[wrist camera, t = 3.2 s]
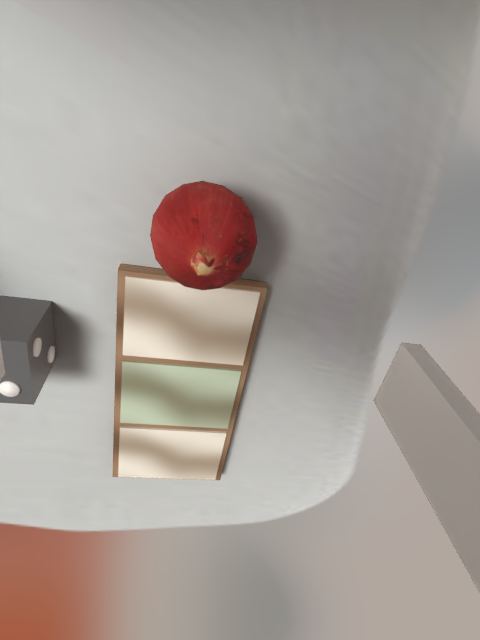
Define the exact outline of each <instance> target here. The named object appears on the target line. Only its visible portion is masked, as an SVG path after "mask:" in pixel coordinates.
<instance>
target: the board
mask: <svg viewBox="0 0 480 640" xmlns="http://www.w3.org/2000/svg"><path fill="white" fill-rule="evenodd" d="M267 290H268V288H267V285H266V282H261V281H253V280H245V279H237V280H236V281H234V282H232V283H230V284H228V285H226V286H224V287H221V288H218V289H210V290H198V289H193V288H189V287H185V286H183V285H181V284H180V283H178V282H177V281H175V280H173V279H172V278H170V277H169V276H168V275H167V273H166V272H165V271H164V269H158V268H150V267H142V266H134V265H126V264H120V266H119V269H118V292H117V330H116V369H115V407H114V445H113V477H136V478H168V479H199V480H220V478H221V474H222V470H223V466H224V462H225V458H226V454H227V450H228V446H229V442H230V438H231V434H232V430H233V426H234V422H235V418H236V414H237V410H238V406H239V402H240V398H241V394H242V390H243V386H244V382H245V378H246V374H247V370H248V366H249V362H250V358H251V354H252V350H253V346H254V342H255V338H256V334H257V330H258V326H259V322H260V318H261V314H262V310H263V306H264V302H265V298H266V294H267Z"/></svg>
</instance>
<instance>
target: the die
mask: <svg viewBox="0 0 480 640" xmlns="http://www.w3.org/2000/svg"><path fill="white" fill-rule="evenodd" d="M0 342H1V349H2V355H3V362H4V368H5V374H4V376H3V377H2V379H1V381H0V402H1V403H17V404H33V405H34V403H35V401H36V399H37V397H38V395H39V393H40V391H41V389H42V387H43V384H44V382H45V380H46V378H47V376H48V374H49V372H50V370H51V368H52V366H53V364H54V362H55V360H56V347H55V333H54V319H53V305H52V301H46V300H37V299H27V298H18V297H9V296H0Z"/></svg>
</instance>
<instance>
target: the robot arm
mask: <svg viewBox="0 0 480 640" xmlns="http://www.w3.org/2000/svg"><path fill="white" fill-rule="evenodd" d="M4 374H5V368H4V362H3V355H2V349H1V342H0V381H1V379H2V377H3V376H4ZM374 402H375V404H376V406H377V408H378V410H379V411H380V413H381V415H382V417H383V419H384V421H385V422H386V424H387V426H388V428H389V430H390V431H391V433H392V435H393V437H394V439H395V440H396V442H397V444H398V446H399V447H400V449H401V451H402V453H403V455H404V457H405V458H406V460H407V462H408V464H409V466H410V468H411V469H412V471H413V473H414V475H415V477H416V479H417V480H418V482H419V484H420V486H421V488H422V489H423V491H424V493H425V495H426V496H427V498H428V500H429V502H430V504H431V506H432V508H433V509H434V511H435V513H436V515H437V517H438V518H439V520H440V522H441V524H442V526H443V527H444V529H445V531H446V533H447V535H448V537H449V538H450V540H451V542H452V544H453V546H454V547H455V549H456V551H457V553H458V555H459V556H460V558H461V560H462V562H463V564H464V565H465V567H466V569H467V571H468V573H469V575H470V576H471V578H472V580H473V582H474V584H475V585H476V587H477V589H478V591H479V592H480V414H479V413H478V412H477V411H476V409H475V408H474V407H473V406H472V404H471V403H470V402H469V401H468V400H467V399H466V397H465V396H464V395H463V394H462V393H461V391H460V390H459V389H458V388H457V387H456V386H455V384H454V383H453V382H452V381H451V380H450V378H449V377H448V376H447V375H446V374H445V373H444V371H443V370H442V369H441V368H440V367H439V365H438V364H437V363H436V362H435V361H434V360H433V358H432V357H431V356H430V355H429V354H428V353H427V351H426V350H425V349H424V348H423V346H422V345H417V344H409V343H401V345H400V347H399V349H398V351H397V353H396V355H395V357H394V359H393V361H392V364H391V366H390V368H389V370H388V372H387V374H386V376H385V378H384V380H383V383H382V385H381V387H380V389H379V391H378V393H377V395H376V397H375V399H374Z"/></svg>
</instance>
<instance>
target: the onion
mask: <svg viewBox="0 0 480 640" xmlns="http://www.w3.org/2000/svg"><path fill="white" fill-rule="evenodd" d="M150 236H151V241H152V245H153V249H154V254H155V258H156V260H157V261H158V263H159V264H160V265H161V267H162V268H163V269H164V271H165V272H166V273H167V275H168V276H169V277H170V278H172V279H173V280H175V281H177V282H178V283H180V284H181V285H183V286H185V287H189V288H193V289H198V290H210V289H218V288H221V287H224V286H226V285H228V284H230V283H232V282H234V281H236V280H237V279H238V278H239V276H240V275H241V274H242V273H243V272H244V270H245V269H246V268H247V267H248V266H249V264H250V263H251V261H252V257H253V254H254V251H255V248H256V244H257V235H256V229H255V222H254V216H253V214H252V213H251V211H250V210H249V209H248V207H247V206H246V204H245V203H244V201H243V200H242V198H241V197H239V196H238V195H236V194H235V193H233V192H232V191H230V190H229V189H227V188H226V187H224V186H222V185H217V184H213V183H209V182H205V181H200V182H194V183H188V184H183V185H181V186H180V187H178V188H177V189H175V190H173V191H172V192H170V193H169V194H167V195H166V196H165V197H164V199H163V200H162V202H161V204H160V205H159V207H158V209H157V210H156V212H155V214H154V215H153V220H152V227H151V234H150Z"/></svg>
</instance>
